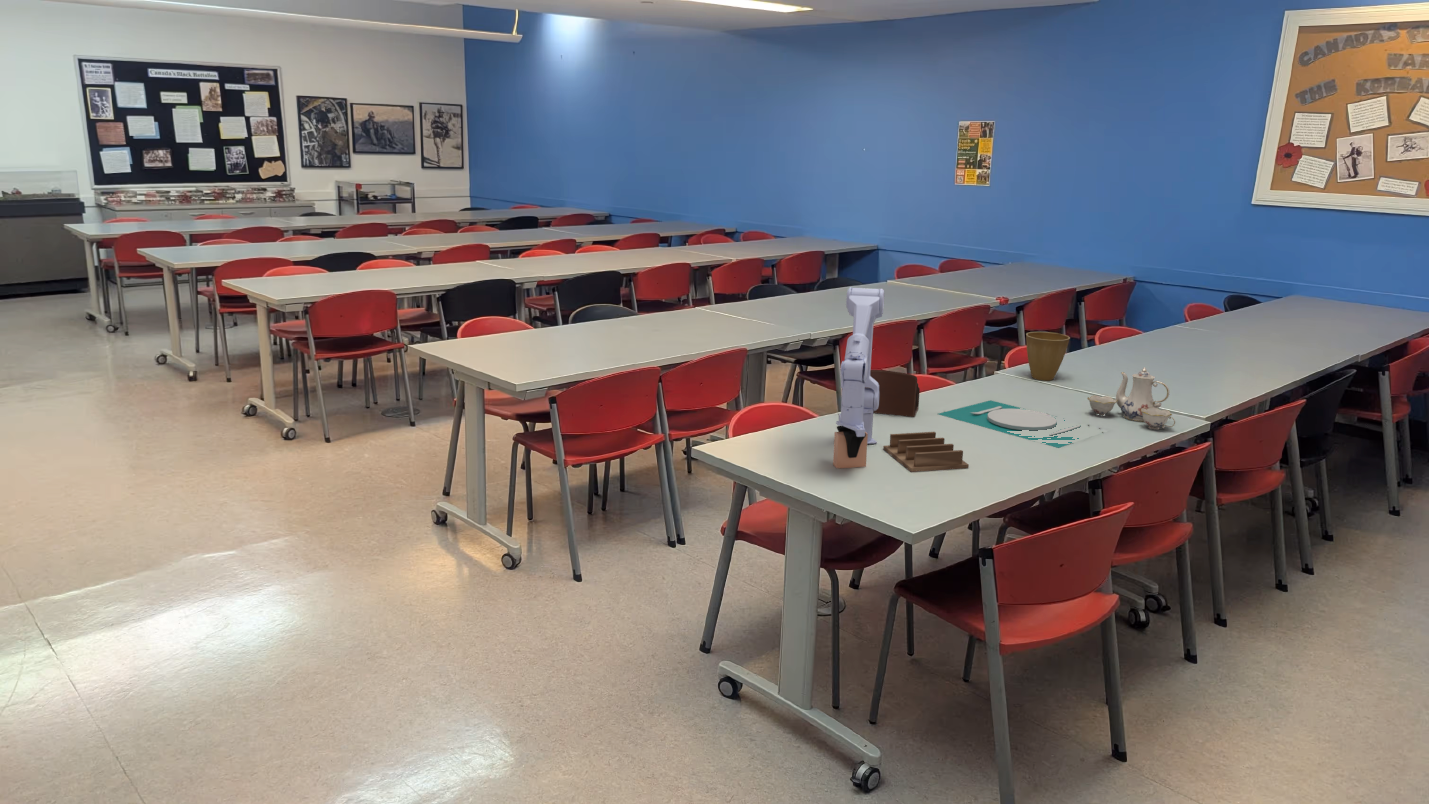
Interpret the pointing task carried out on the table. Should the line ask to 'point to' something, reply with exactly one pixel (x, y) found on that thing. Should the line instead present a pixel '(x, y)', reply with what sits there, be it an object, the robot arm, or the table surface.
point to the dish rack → (924, 452)
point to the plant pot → (1045, 353)
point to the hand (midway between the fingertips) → (850, 455)
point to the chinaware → (1135, 401)
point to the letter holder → (896, 393)
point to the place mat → (1009, 420)
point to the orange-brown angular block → (842, 456)
